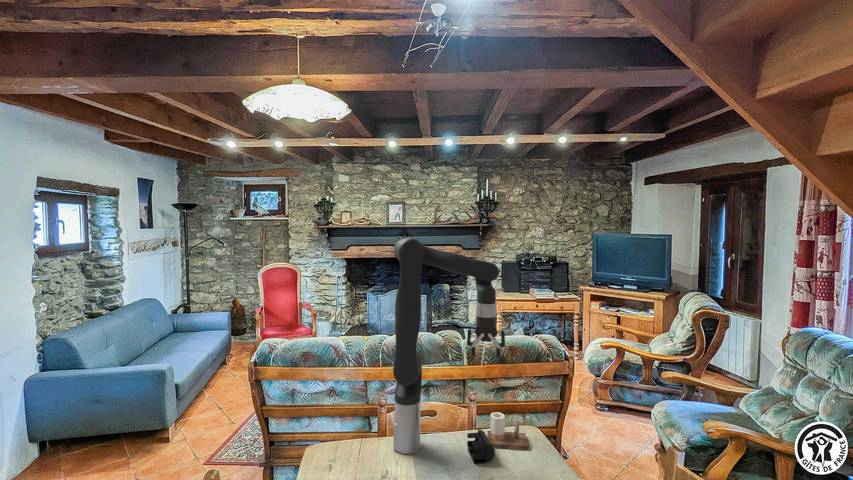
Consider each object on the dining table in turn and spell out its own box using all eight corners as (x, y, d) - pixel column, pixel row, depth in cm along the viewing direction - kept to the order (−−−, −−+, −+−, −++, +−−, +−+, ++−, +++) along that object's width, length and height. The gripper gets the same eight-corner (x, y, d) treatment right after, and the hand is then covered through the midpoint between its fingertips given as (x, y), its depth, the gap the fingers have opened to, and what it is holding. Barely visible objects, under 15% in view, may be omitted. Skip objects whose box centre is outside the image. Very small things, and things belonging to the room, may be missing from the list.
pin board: (488, 447, 141) (488, 427, 141) (487, 434, 150) (487, 415, 150) (528, 450, 139) (528, 430, 139) (524, 436, 148) (525, 417, 148)
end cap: (495, 463, 132) (495, 443, 131) (474, 465, 131) (474, 445, 130) (485, 447, 142) (486, 428, 141) (466, 448, 140) (467, 430, 140)
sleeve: (490, 439, 143) (491, 418, 143) (490, 432, 148) (490, 411, 148) (504, 440, 143) (505, 419, 142) (503, 433, 148) (503, 412, 147)
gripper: (467, 316, 145) (466, 359, 146) (506, 317, 144) (505, 361, 144) (467, 311, 153) (467, 353, 153) (504, 312, 151) (504, 354, 152)
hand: (485, 356), depth 149 cm, fingers open, 8 cm apart
